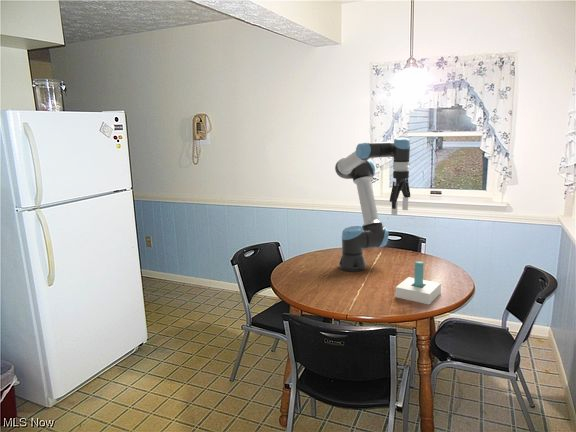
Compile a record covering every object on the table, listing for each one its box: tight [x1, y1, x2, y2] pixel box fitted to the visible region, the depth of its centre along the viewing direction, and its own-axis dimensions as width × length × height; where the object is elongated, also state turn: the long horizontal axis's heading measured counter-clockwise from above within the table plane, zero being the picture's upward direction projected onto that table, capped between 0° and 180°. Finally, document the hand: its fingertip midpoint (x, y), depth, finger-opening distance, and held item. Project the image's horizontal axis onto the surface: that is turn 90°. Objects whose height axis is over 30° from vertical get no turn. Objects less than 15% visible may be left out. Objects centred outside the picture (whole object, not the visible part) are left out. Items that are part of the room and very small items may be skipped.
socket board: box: [394, 276, 442, 305], centre depth 201 cm, size 16×16×5 cm
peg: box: [413, 261, 425, 288], centre depth 200 cm, size 4×4×16 cm
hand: (399, 212), depth 214 cm, fingers open, 13 cm apart
